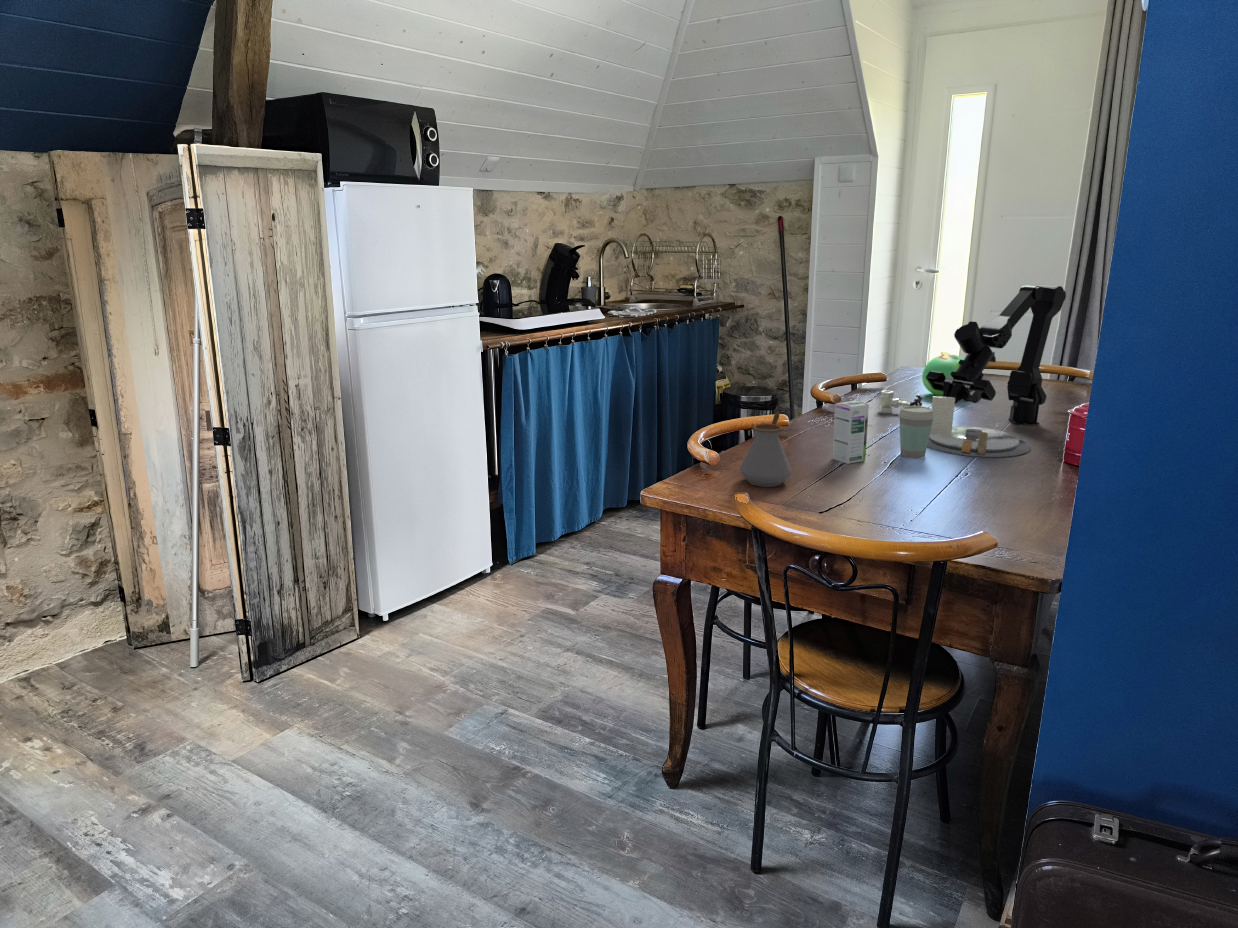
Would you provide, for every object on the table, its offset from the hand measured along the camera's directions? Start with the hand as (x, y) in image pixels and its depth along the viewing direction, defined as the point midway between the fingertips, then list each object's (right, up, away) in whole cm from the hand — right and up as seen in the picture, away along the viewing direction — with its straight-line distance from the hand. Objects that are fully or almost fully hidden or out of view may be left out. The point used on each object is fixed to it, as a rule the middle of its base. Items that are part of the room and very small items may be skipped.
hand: (943, 409), depth 221 cm
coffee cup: (-13, -13, -12) cm, 21 cm away
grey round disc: (+7, -9, -1) cm, 12 cm away
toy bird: (+24, +8, +58) cm, 63 cm away
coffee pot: (-52, -18, -28) cm, 61 cm away
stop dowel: (+4, -13, -13) cm, 19 cm away
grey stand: (+7, -9, -2) cm, 11 cm away
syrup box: (-30, -14, -16) cm, 36 cm away
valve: (-1, +1, +34) cm, 34 cm away
